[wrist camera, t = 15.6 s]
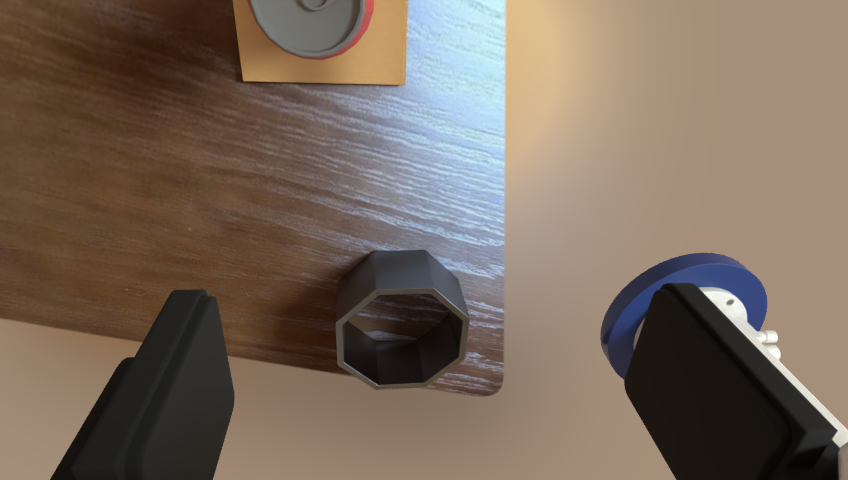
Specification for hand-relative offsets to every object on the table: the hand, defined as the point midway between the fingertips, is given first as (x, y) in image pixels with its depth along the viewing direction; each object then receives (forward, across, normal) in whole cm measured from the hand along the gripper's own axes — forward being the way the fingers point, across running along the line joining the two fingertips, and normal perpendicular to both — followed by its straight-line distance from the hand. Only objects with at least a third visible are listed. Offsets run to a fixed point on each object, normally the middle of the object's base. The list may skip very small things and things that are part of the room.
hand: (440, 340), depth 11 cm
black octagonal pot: (+32, -1, +23) cm, 39 cm away
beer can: (+31, +5, -5) cm, 32 cm away
